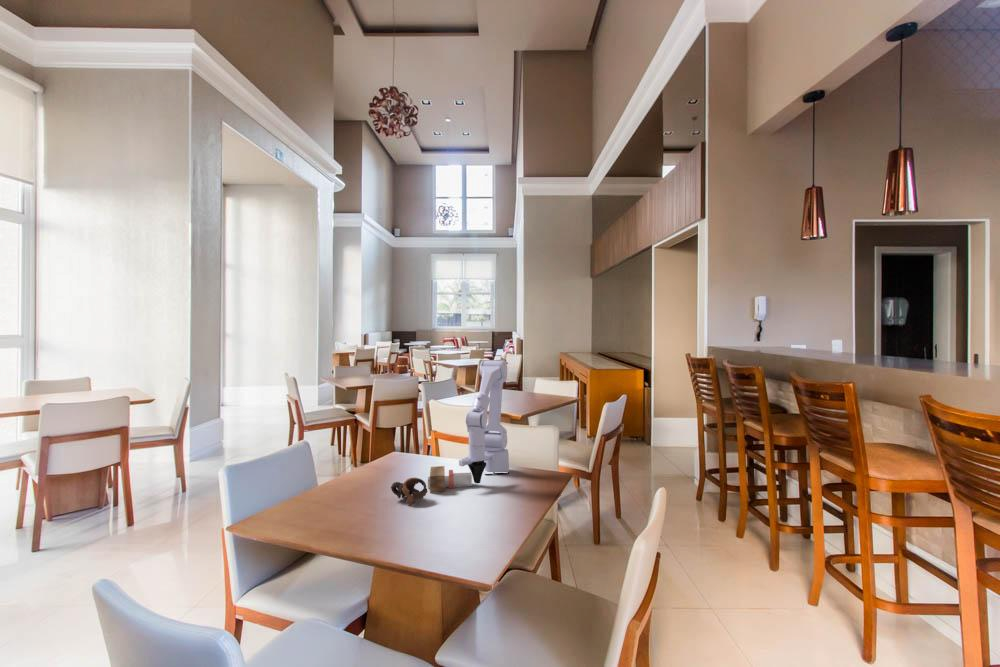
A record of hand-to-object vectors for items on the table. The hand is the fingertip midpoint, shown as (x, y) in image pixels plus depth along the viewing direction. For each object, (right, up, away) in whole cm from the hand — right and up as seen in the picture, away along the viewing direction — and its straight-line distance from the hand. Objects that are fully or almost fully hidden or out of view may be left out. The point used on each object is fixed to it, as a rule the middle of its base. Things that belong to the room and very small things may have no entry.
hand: (477, 482), depth 171 cm
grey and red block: (-10, -1, 0) cm, 10 cm away
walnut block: (-14, -1, -2) cm, 14 cm away
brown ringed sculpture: (-22, -1, -15) cm, 26 cm away
